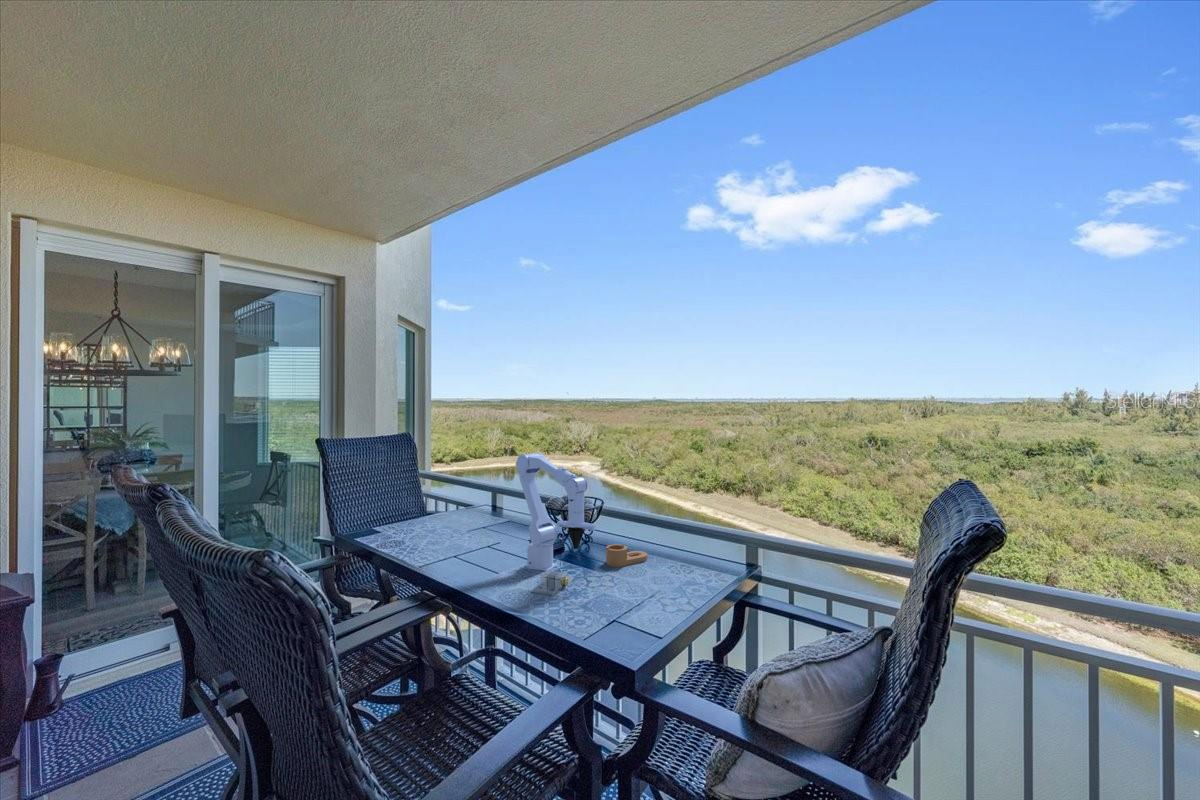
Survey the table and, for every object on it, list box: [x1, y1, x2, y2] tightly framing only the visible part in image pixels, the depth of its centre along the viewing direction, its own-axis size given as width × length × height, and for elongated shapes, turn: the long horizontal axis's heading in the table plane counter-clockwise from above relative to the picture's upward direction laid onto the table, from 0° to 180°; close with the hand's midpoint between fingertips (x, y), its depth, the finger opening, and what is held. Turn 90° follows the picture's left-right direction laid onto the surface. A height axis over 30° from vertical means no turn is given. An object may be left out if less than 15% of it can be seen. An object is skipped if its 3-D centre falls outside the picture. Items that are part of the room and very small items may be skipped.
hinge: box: [531, 570, 575, 597], centre depth 165 cm, size 8×16×4 cm, turn 159°
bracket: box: [605, 543, 648, 568], centre depth 189 cm, size 18×8×7 cm, turn 121°
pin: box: [562, 578, 570, 587], centre depth 165 cm, size 9×2×2 cm, turn 69°
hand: (576, 548), depth 173 cm, fingers closed
